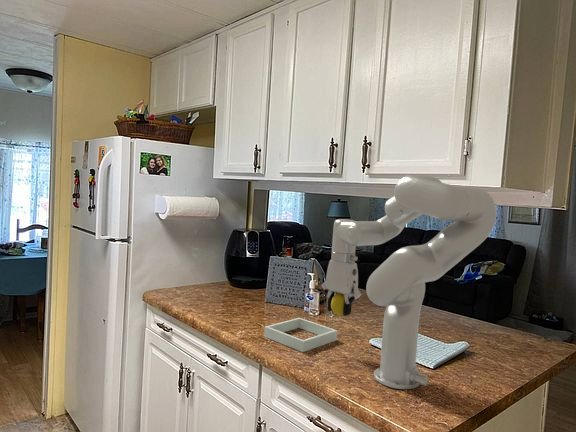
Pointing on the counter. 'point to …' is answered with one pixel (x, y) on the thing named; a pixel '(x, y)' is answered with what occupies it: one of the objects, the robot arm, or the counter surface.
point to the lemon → (338, 304)
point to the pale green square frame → (276, 334)
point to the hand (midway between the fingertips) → (338, 312)
